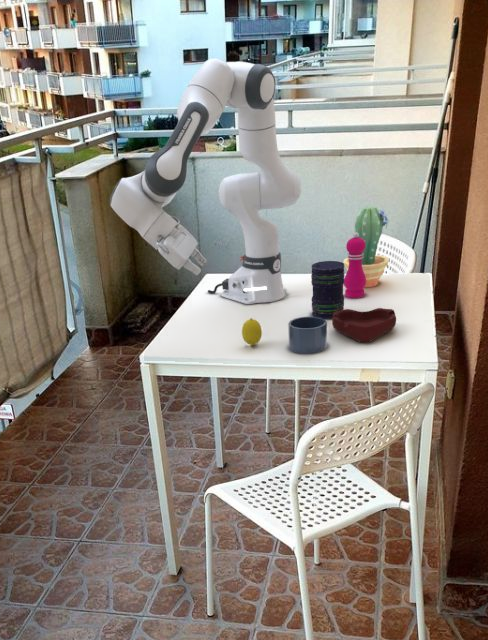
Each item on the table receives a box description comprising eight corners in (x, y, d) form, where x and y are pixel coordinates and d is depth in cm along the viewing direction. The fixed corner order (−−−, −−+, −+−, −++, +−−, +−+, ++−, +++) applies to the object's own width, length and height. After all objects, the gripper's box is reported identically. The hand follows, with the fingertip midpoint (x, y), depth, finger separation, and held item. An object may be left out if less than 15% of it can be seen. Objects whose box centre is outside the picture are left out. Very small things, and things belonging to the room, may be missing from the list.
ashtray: (332, 345, 191) (332, 328, 188) (332, 325, 205) (332, 309, 202) (398, 343, 188) (399, 326, 186) (394, 323, 202) (394, 307, 199)
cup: (281, 349, 191) (281, 325, 188) (303, 338, 198) (303, 314, 194) (312, 356, 185) (311, 331, 182) (333, 344, 191) (333, 320, 188)
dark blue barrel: (343, 308, 217) (344, 260, 210) (344, 318, 209) (345, 268, 201) (311, 309, 219) (311, 261, 211) (311, 319, 210) (310, 270, 203)
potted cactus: (379, 291, 229) (383, 212, 216) (335, 288, 236) (336, 211, 223) (394, 279, 240) (398, 202, 227) (351, 276, 247) (353, 201, 234)
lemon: (260, 349, 193) (259, 321, 188) (241, 349, 194) (239, 321, 190) (263, 342, 197) (262, 315, 193) (244, 342, 198) (242, 315, 194)
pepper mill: (369, 293, 229) (371, 230, 218) (360, 299, 224) (362, 235, 213) (348, 291, 232) (350, 229, 222) (339, 297, 227) (340, 234, 217)
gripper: (161, 231, 172) (203, 269, 175) (176, 215, 189) (214, 250, 193) (146, 250, 175) (188, 287, 178) (162, 233, 192) (200, 267, 196)
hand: (202, 268), depth 186 cm, fingers open, 8 cm apart
